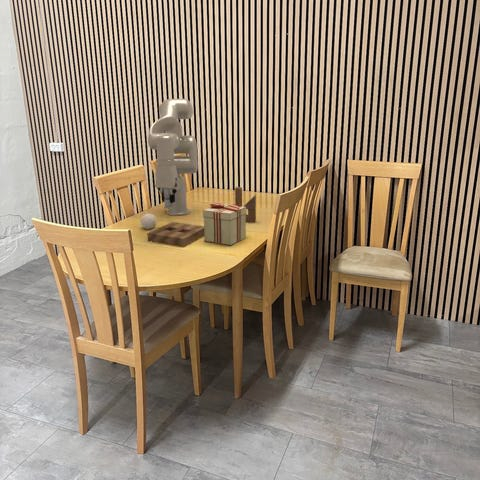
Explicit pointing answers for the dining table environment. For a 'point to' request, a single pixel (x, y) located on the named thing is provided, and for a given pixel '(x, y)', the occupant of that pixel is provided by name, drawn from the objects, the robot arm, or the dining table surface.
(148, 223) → the geometric ball
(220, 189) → the dining table surface
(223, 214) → the gift box
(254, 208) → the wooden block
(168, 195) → the peg
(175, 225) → the board
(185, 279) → the dining table surface
